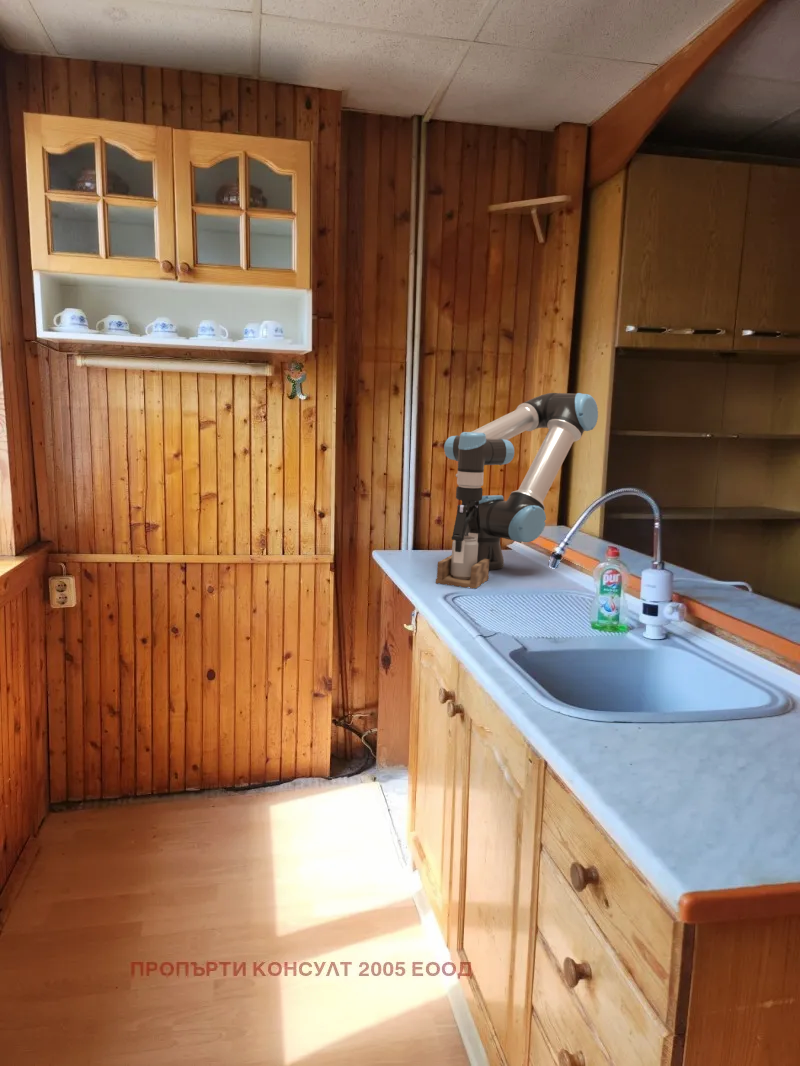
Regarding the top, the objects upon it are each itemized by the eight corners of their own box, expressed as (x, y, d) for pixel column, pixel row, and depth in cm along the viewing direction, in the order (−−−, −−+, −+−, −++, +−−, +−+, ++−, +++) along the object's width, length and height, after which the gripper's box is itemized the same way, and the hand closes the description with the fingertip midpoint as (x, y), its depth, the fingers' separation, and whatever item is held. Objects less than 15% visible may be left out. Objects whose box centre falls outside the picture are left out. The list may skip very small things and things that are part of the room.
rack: (450, 574, 221) (452, 554, 220) (488, 579, 217) (490, 559, 216) (435, 583, 208) (437, 562, 207) (475, 588, 204) (477, 567, 203)
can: (475, 575, 216) (478, 535, 214) (476, 580, 208) (479, 539, 206) (450, 573, 216) (453, 534, 214) (450, 578, 209) (452, 538, 207)
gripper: (469, 481, 221) (465, 549, 224) (443, 489, 198) (439, 564, 201) (493, 483, 218) (488, 552, 222) (469, 491, 195) (465, 568, 199)
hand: (465, 558), depth 211 cm, fingers open, 13 cm apart
